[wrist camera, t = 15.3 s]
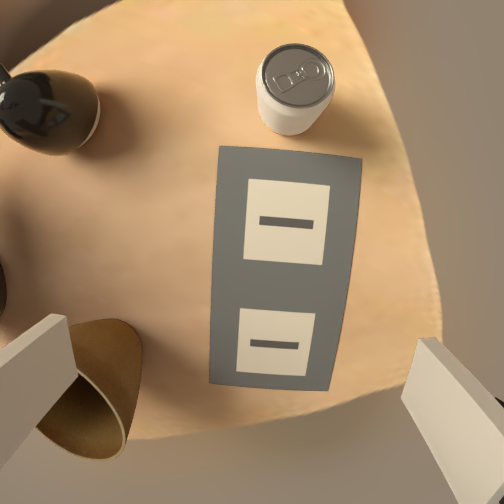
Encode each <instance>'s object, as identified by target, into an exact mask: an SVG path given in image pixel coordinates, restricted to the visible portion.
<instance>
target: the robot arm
mask: <svg viewBox="0 0 504 504" xmlns="http://www.w3.org/2000/svg"><path fill="white" fill-rule="evenodd" d="M5 302H6V287H5V280H4V275H3V271H2V268H1V265H0V315H1V314H2V312H3V310H4V307H5ZM77 377H78V372H77V368H76V363H75V359H74V354H73V349H72V344H71V339H70V334H69V328H68V322H67V316H64V315H59V314H53V313H51V314H50V315H48V316H47V317H45V318H44V319H42V320H41V321H40V322H38V323H37V324H35V325H34V326H33V327H31V328H30V329H28V330H27V331H26V332H24V333H23V334H21V335H20V336H19V337H17V338H16V339H14V340H13V341H12V342H10V343H9V344H8V345H6V346H5V347H4V348H2V349H1V350H0V470H1V469H2V468H3V466H4V465H5V464H6V463H7V461H8V460H9V459H10V458H11V456H12V455H13V454H14V452H15V451H16V450H17V449H18V448H19V446H20V445H21V444H22V443H23V441H24V440H25V439H26V438H27V436H28V435H29V434H30V433H31V431H32V430H33V429H34V428H35V427H36V425H37V424H38V423H39V422H40V420H41V419H42V418H43V417H44V416H45V414H46V413H47V412H48V411H49V410H50V409H51V407H52V406H53V405H54V404H55V403H56V401H57V400H58V399H59V398H60V397H61V396H62V394H63V393H64V392H65V391H66V390H67V389H68V387H69V386H70V385H71V384H72V383H73V382H74V380H75V379H76V378H77ZM401 399H402V401H403V403H404V404H405V406H406V408H407V410H408V411H409V413H410V415H411V417H412V418H413V420H414V422H415V424H416V425H417V427H418V429H419V431H420V432H421V434H422V436H423V438H424V440H425V441H426V443H427V445H428V447H429V449H430V450H431V452H432V454H433V456H434V458H435V460H436V461H437V463H438V465H439V467H440V469H441V471H442V473H443V474H444V476H445V478H446V480H447V482H448V484H449V486H450V488H451V490H452V492H453V494H454V496H455V498H456V499H457V502H458V503H459V504H498V503H500V504H504V402H503V401H501V400H499V399H498V398H496V397H495V398H494V397H493V396H492V395H491V394H490V393H489V392H488V391H487V390H486V388H484V386H483V385H482V384H480V382H479V381H478V380H477V379H476V378H475V377H474V376H473V375H472V374H471V373H470V372H469V371H468V370H467V369H466V368H465V367H464V366H463V365H462V363H461V362H460V361H459V360H458V359H457V358H455V357H454V355H452V353H451V352H450V351H449V350H448V349H447V348H446V347H445V346H444V345H443V344H442V343H441V342H440V341H439V340H438V339H437V338H436V337H433V338H419V340H418V343H417V347H416V351H415V354H414V358H413V361H412V365H411V368H410V371H409V374H408V378H407V381H406V384H405V387H404V390H403V393H402V396H401Z"/></svg>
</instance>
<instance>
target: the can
mask: <svg viewBox="0 0 504 504" xmlns="http://www.w3.org/2000/svg"><path fill="white" fill-rule="evenodd" d="M256 90H257V101H258V109H259V114H260V117H261V119H262V121H263V122H264V124H265V125H266V126H267V127H268V128H269V129H270V130H272V131H273V132H275V133H278V134H281V135H287V136H291V135H297V134H300V133H302V132H304V131H306V130H307V129H308V128H309V127H310V126H311V125H312V124H313V123H314V122H315V121H316V119H317V118H318V117H319V116H320V114H321V113H322V112H323V111H324V109H325V108H326V107H327V106H328V104H329V103H330V101H331V99H332V97H333V94H334V91H335V78H334V72H333V68H332V66H331V64H330V62H329V61H328V59H327V58H326V57H325V56H324V55H323V54H322V53H321V52H320V51H318V50H317V49H315V48H313V47H310V46H308V45H304V44H296V43H294V44H286V45H282V46H280V47H278V48H276V49H274V50H273V51H271V52H270V53H269V54H268V55H267V57H266V58H265V59H264V60H263V61H262V62H261V64H260V66H259V68H258V71H257V75H256Z"/></svg>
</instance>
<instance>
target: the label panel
mask: <svg viewBox="0 0 504 504" xmlns="http://www.w3.org/2000/svg"><path fill="white" fill-rule="evenodd" d="M361 167H362V159H359V158H352V157H345V156H337V155H329V154H320V153H311V152H301V151H291V150H279V149H266V148H251V147H233V146H219V157H218V171H217V186H216V203H215V221H214V240H213V262H212V288H211V321H210V381H209V383H212V384H220V385H230V386H240V387H251V388H264V389H280V390H302V391H328V388H329V383H330V379H331V374H332V370H333V365H334V361H335V356H336V351H337V346H338V341H339V336H340V331H341V325H342V320H343V314H344V308H345V303H346V296H347V290H348V284H349V277H350V270H351V263H352V256H353V248H354V240H355V232H356V223H357V214H358V203H359V192H360V180H361Z"/></svg>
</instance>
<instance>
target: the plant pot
mask: <svg viewBox="0 0 504 504" xmlns="http://www.w3.org/2000/svg"><path fill="white" fill-rule="evenodd" d="M68 328H69V334H70V339H71V344H72V349H73V354H74V359H75V363H76V368H77V372H78V377H77V378H76V379H75V380H74V382H73V383H72V384H71V385H70V386H69V387H68V389H67V390H66V391H65V392H64V393H63V394H62V396H61V397H60V398H59V399H58V400H57V401H56V403H55V404H54V405H53V406H52V407H51V409H50V410H49V411H48V412H47V413H46V414H45V416H44V417H43V418H42V419H41V420H40V422H39V423H38V424H37V425H36V427H35V428H36V429H37V430H38V431H39V432H40V433H41V434H42V435H43V436H44V437H46V438H47V439H48V440H49V441H51V442H52V443H53V444H55V445H56V446H58V447H60V448H61V449H63V450H65V451H66V452H68V453H70V454H73V455H75V456H78V457H81V458H83V459H88V460H92V461H108V460H112V459H114V458H116V457H117V456H119V455H120V454H121V453H122V451H123V450H124V447H125V444H126V441H127V437H128V434H129V430H130V427H131V423H132V420H133V416H134V412H135V408H136V403H137V398H138V393H139V388H140V380H141V371H142V344H141V340H140V338H139V336H138V335H137V333H136V332H135V331H134V329H133V328H132V327H130V326H129V325H128V324H127V323H125V322H123V321H121V320H118V319H102V320H95V321H89V322H85V323H81V324H77V325H73V326H70V327H68Z"/></svg>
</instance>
